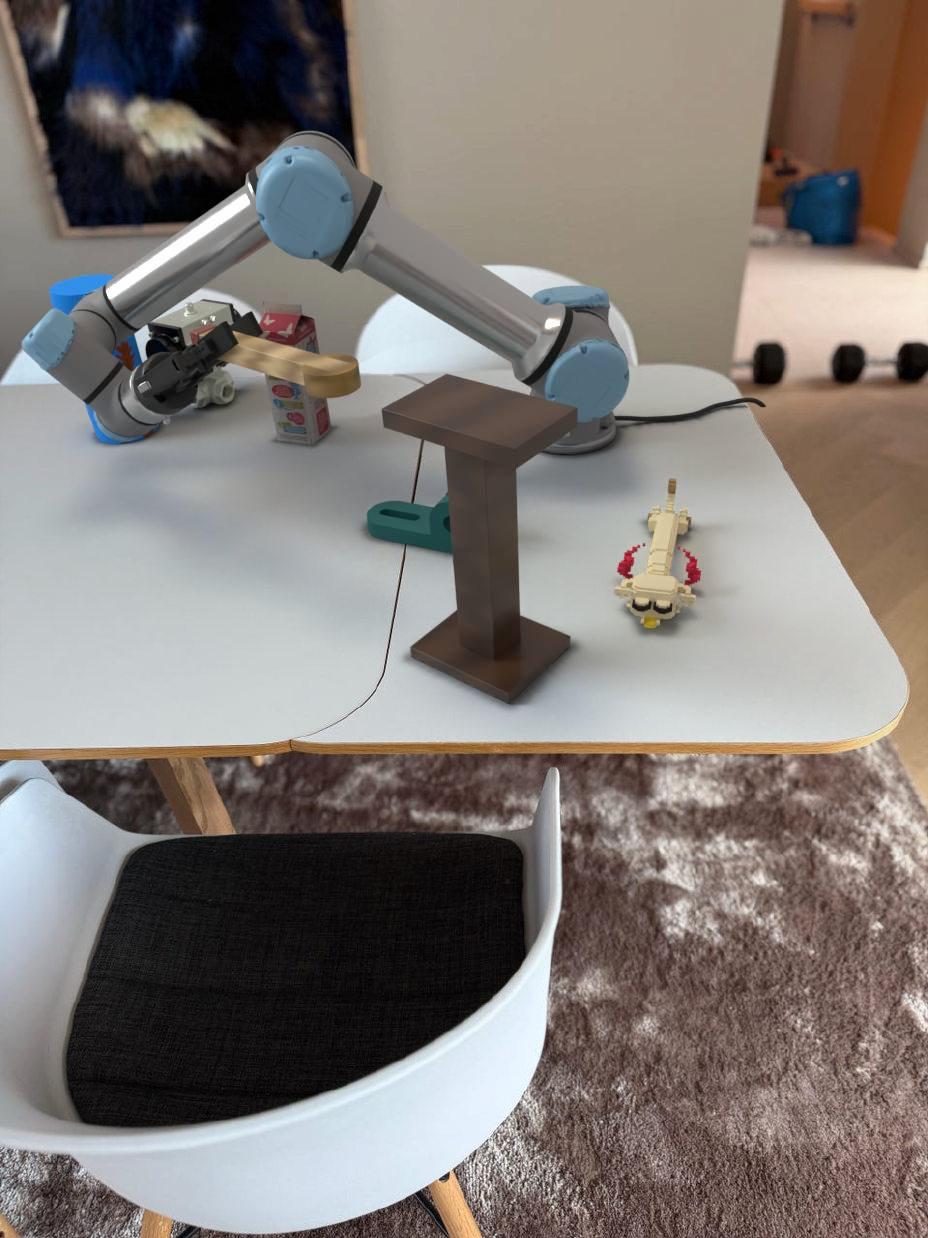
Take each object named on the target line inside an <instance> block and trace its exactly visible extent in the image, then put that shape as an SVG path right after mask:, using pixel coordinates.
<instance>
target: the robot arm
mask: <svg viewBox="0 0 928 1238" xmlns="http://www.w3.org/2000/svg"><path fill="white" fill-rule="evenodd" d="M356 167H357V166H356V164H355V161H354V160H353V157H352V155H351V153H350V152H349V151H348V150H347V148H346V147H345V146H344V145H343V144H342V143H341V142H340V141H338V139H336V138H335V137H333V136H331V135H329V134H327V133H324V132H321V131H317V130H303V131H298V132H296V133H294V134H291V135H290V136H288V137H286V138H284V140H282V142H281V143H279V144H278V146H277V147H276V148H275V150H273V152H272V153H271V154H269V156H268V157H266V158H265V159H264V160H263V161H262V162H260V163H259V164H258V165H257V166H255V167H254V168H253V169H251V170H250V171H248V172H247V173H246V175H245V183H244V185H243V186H242V187H240V188H239V189H238V190H236V191H235V192H233V193H232V194H230V195H229V196H228V197H226V198H225V199H223V200H222V201H220V202H219V203H217V204H216V205H215V206H213V207H212V208H210V209H209V210H207V211H206V212H205V213H203V214H202V215H201V216H199V217H198V218H196V219H194V220H193V221H192V222H190V223H189V224H188V225H187V226H185V227H184V228H182V229H181V230H179V231H178V232H177V233H175V234H174V235H173V236H171V237H169V238H168V239H167V240H165V241H164V242H162V243H161V244H160V245H158V246H157V247H155V248H154V249H152V250H151V251H149V252H148V253H147V254H145V255H144V256H143V257H141V258H139V259H138V260H137V261H135V262H133V264H131V265H130V266H129V267H127V268H125V269H124V270H123V271H121V272H120V273H119V274H117V275H115V276H114V278H113V279H111V280H110V281H109V282H107V284H105V285H103V286H102V287H100V288H99V289H95V290H93V291H91V292H89V293H87V294H86V295H84V296H83V297H82V298H81V299H80V300H79V301H78V302H77V304H76V306H75V307H74V308H73V310H72V311H71V312H70V313H69V314H68V315H67V314H65V313H64V312H62V311H61V310H59V309H54V308H51V309H49V310H48V311H47V312H46V314H45V315H44V316H43V317H42V318H40V320H39V321H38V322H37V323H36V324H35V325H34V327H33V328H32V329H31V330H30V331H29V332H28V333H27V335H26V336H24V338H23V339H22V341H21V348H22V351H24V353H26V355H28V356H29V358H31V360H33V361H34V362H35V363H36V364H37V365H38V366H39V368H40V369H42V370H43V371H45V372H46V373H47V374H48V375H50V376H51V377H52V378H53V379H55V381H57V382H59V383H60V384H61V385H62V386H63V387H64V388H66V389H67V390H68V391H70V392H71V393H72V394H73V395H74V396H76V397H77V398H78V399H79V400H81V401H82V402H83V403H84V404H85V403H86V404H87V406H88V407H90V408H91V409H92V410H93V411H94V419H95V421H96V424H97V425H98V427H99V429H100V430H101V431H102V432H103V433H104V434H105V435H106V436H108V437H109V438H111V439H113V440H117V441H131V440H134V439H136V438H138V437H142V436H143V435H146V434H148V433H149V432H150V431H151V430H152V429H153V428H155V427H156V426H157V425H158V426H160V424H162V423H163V424H164V425H169V424H171V417H173V416H174V415H176V414H178V413H179V412H181V411H183V410H184V409H186V408H188V407H190V406H189V405H190V404H191V403H192V402H193V401H194V399H195V397H196V395H197V392H198V384H199V383H200V382H202V381H203V379H204V377H206V376H208V375H209V374H211V373H212V372H213V371H214V370H213V367H214V366H216V367H217V368H218V367H221V368H225V367H226V366H227V365H228V362H225V361H222V360H218V359H217V358H219V357H220V356H222V355H223V354H224V353H226V352H227V351H229V350H230V349H231V348H233V347H234V346H236V345H237V344H239V343H238V341H237V339H236V337H235V335H234V333H233V332H232V331H235V332H239V333H243V334H246V335H250V336H253V337H259V336H260V335H262V334H263V331H262V329H261V327H260V325H259V323H260V322H258V319H257V318H256V316H255V314H254V312H253V311H252V310H250V311H248V312H246V313H245V314H243V315H241V316H242V317H241V318H239V319H238V320H237V321H235V322H234V323H233V324H231V325H230V324H228V322H227V321H225V322H222V323H220V324H219V325H218V326H217V327H215V328H214V329H213V330H211V331H210V332H209V333H207V334H206V335H205V336H204V337H202V338H201V339H200V340H198V341H197V344H198V346H196V344H194V345H192V344H191V345H189V346H188V347H187V348H186V349H185V350H184V351H183V352H181V351H176V352H174V354H173V353H169V352H160V353H156V354H154V355H152V356H150V357H149V358H148V359H147V358H146V359H145V360H144V361H142V364H140V365H139V366H137V367H136V368H135V369H134V370H132V371H130V370H129V369H127V368H126V367H125V366H124V365H123V364H122V363H121V362H120V361H119V360H118V359H117V358H115V357H114V356H113V355H112V353H113V352H114V350H115V349H116V348H117V346H118V345H119V344H120V343H122V342H123V341H125V340H126V339H127V338H129V337H130V336H132V335H133V334H134V335H135V334H137V333H138V332H139V331H140V330H141V329H143V328H144V327H145V326H147V324H148V323H150V322H153V321H155V320H157V319H158V318H160V316H162V315H164V314H165V313H167V312H168V311H169V310H171V309H173V308H174V307H176V306H177V305H179V304H180V303H181V302H183V301H184V300H186V299H188V298H189V297H190V296H192V295H194V294H195V293H196V292H198V291H199V290H201V289H203V288H204V287H205V286H207V285H208V284H210V283H211V282H213V281H214V280H216V279H217V278H219V277H220V276H222V275H223V274H225V273H226V272H228V271H229V270H231V269H232V268H234V267H236V266H237V265H238V264H240V263H241V262H243V261H244V260H246V259H247V258H249V257H250V256H252V255H253V254H255V253H256V252H258V251H259V250H261V249H262V248H264V247H265V246H266V245H268V244H269V243H271V242H272V243H273V244H274V245H275V246H276V247H277V248H279V249H280V250H281V251H282V252H284V253H286V254H287V255H290V256H292V257H295V258H298V259H303V260H318V261H320V262H321V263H323V264H325V265H326V266H328V267H329V268H331V269H332V270H334V271H336V272H338V273H340V274H343V273H344V274H345V273H347V272H351V271H360V272H361V273H363V274H364V275H366V276H368V277H370V278H372V279H373V280H374V281H376V282H378V283H380V284H381V285H383V286H385V287H386V288H388V289H389V290H391V291H393V292H394V293H396V294H397V295H399V296H401V297H403V298H404V299H405V300H407V301H409V302H410V303H412V304H414V305H415V306H417V307H419V308H421V309H422V310H424V311H426V312H427V313H429V314H430V315H432V316H434V317H436V318H437V319H438V320H440V321H442V322H443V323H444V324H445V323H446V324H447V325H448V326H450V327H452V328H454V329H455V330H457V331H458V332H459V333H461V334H463V335H465V336H467V337H468V338H470V339H471V340H472V341H475V342H476V343H478V344H480V345H481V346H483V347H484V348H486V349H487V350H490V351H491V352H493V353H494V354H496V355H498V356H500V358H502V359H505V360H506V361H507V362H509V363H510V364H511V366H512V371H513V375H514V378H515V379H516V380H517V381H519V382H520V383H522V384H524V385H526V386H527V387H529V388H530V393H529V395H531V396H535V397H539V398H543V399H546V400H550V401H554V402H558V403H562V404H566V405H570V406H574V407H577V408H578V418H577V427H576V428H575V429H573V430H572V431H571V432H569V433H568V434H566V435H565V436H563V437H562V438H560V439H559V440H557V441H556V442H555V443H553V444H552V445H550V446H549V447H547V448H546V449H544V450H543V451H542V452H545V453H549V454H557V455H575V454H576V455H577V454H584V453H589V452H593V451H597V450H599V449H602V448H604V447H606V446H607V445H609V444H610V443H611V442H612V441H613V440H614V439H615V437H616V433H617V432H616V430H617V421H619V422H621V421H623V422H625V421H626V422H627V421H628V422H666V421H668V422H669V421H677V420H684V419H691V418H695V417H698V416H701V415H704V414H706V413H709V412H710V411H713V410H715V409H716V410H717V409H719V408H723V407H730V406H733V405H738V404H743V403H751V404H755V405H757V406H759V408H767V405H766V404H765V403H764V402H763V401H761V400H760V399H758V398H755V397H740V398H735V399H731V400H725V401H721V402H717V403H713V404H710V405H707V406H706V407H703V408H701V409H699V410H695V411H692V412H687V413H680V414H673V415H671V414H670V415H652V416H649V415H648V416H638V415H615V414H614V410H615V409H616V408H617V407H618V406H619V405H620V403H621V402H622V401H623V400H624V398H625V395H626V394H627V391H628V388H629V384H630V367H629V361H628V358H627V356H626V353H625V351H624V350H623V348H622V347H621V345H620V344H619V342H618V340H617V338H616V336H615V334H614V332H613V330H612V329H611V327H610V322H609V317H610V314H609V313H610V309H611V304H610V295H609V292H607V290H605V289H604V288H601V287H597V286H594V285H593V286H591V285H563V286H554V287H548V288H545V289H541V290H539V291H537V292H535V293H534V294H533V295H532V296H530V295H528V294H527V293H525V292H524V291H522V290H520V289H519V288H517V287H515V286H514V285H513V284H511V283H509V282H508V281H506V279H503V278H501V277H500V276H498V275H497V274H496V273H494V272H492V271H491V270H489V269H488V268H487V267H485V266H483V265H482V264H480V263H478V262H477V261H475V260H474V259H472V258H470V257H469V256H468V255H466V254H465V253H463V252H461V250H459V249H457V248H455V247H454V246H453V245H451V244H450V243H448V242H446V241H444V240H443V239H441V237H438V236H436V235H435V234H434V233H432V232H431V231H429V230H428V229H426V228H425V227H422V225H420V224H418V223H416V222H415V221H413V220H412V219H410V218H409V217H407V216H406V215H404V214H402V213H401V212H399V211H398V210H396V209H395V208H393V207H392V206H391V204H390V202H389V198H388V194H387V191H386V188H385V187H384V186H383V185H382V184H380V183H378V182H377V181H375V180H374V179H372V178H371V177H369V176H367V175H366V174H365V173H363V172H362V171H360V170H358V169H357V168H356ZM226 364H227V365H226Z"/></svg>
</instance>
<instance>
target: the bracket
mask: <svg viewBox="0 0 928 1238" xmlns="http://www.w3.org/2000/svg"><path fill="white" fill-rule="evenodd" d="M366 521H367V529H368V532H369V534H370V536H372V537H374V538H376V539H379V540H384V541H389V542H394V543H399V544H404V545H409V546H414V547H418V548H424V549H428V550H433V551H438V552H443V553H448V554H452V555H453V552H452V539H451V526H450V514H449V501H448V491H447V492H446V493H445V495H444V496H443V497H441V498H440V500H439V501H438V502H437V503H436V504H435V505H434V506H430V505H424V504H419V503H413V502H408V501H404V500H386V501H382V502H379V503H377V504H374V505H373V506H370V508H369V509H368V510H367V512H366Z"/></svg>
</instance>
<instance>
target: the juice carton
mask: <svg viewBox="0 0 928 1238" xmlns="http://www.w3.org/2000/svg"><path fill="white" fill-rule="evenodd" d="M262 305H263V312H264V313H263V314H262V317H261V319H260V321H259V322H258V323H259V325H260V327H261V329H262V331H263V334H262V335H260V336H259V337H257V338H261V339H264V340H268V341H272V342H275V343H279V344H283V345H286V346H290V347H293V348H297V349H301V350H304V351H308V352H312V353H315V354H319V355H321V353H320V347H319V342H318V341H319V339H318V335H317V334H318V333H317V328H316V323H315V319H314V318H313V317H311V316H307V315H304V314H303V308H302V304H296V303H284V302H275V301H274V302H273V301H262ZM264 379H265V383H266V389H267V395H268V399H269V403H270V409H271V414H272V420H273V425H274V429H275V434H276V435H275V436H276V439H277V441H278V442H286V443H294V444H300V445H307V446H308V445H309V446H313V445H314V444H316V443H317V442H318V441H319V440H320V439H321V438H322V437H323V436H324V435H326V433H328V432H329V431H330V430H331V429H332V424H331V418H330V411H329V410H330V409H329V405H328V398H318V397H314V396H311V395H309V394H308V393H307V392H306V389H305V386H304V385H301V384H297V383H294V382H291V381H287V380H284V379H281V378H278V377H274V376H271V375H268V374H264Z"/></svg>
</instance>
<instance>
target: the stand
mask: <svg viewBox="0 0 928 1238" xmlns="http://www.w3.org/2000/svg"><path fill="white" fill-rule="evenodd" d="M380 410H381V417H382V426H383V429H387V430H389V431H394V432H396V433H400V434H403V435H406V436H409V437H412V438H416V439H419V440H422V441H425V442H428V443H431V444H435V445H438V446H441V447H444V450H443V451H444V461H445V462H444V463H445V474H446V483H447V484H446V487H447V492H448V501H449V514H450V526H451V539H452V552H453V554H452V563H453V575H454V589H455V603H456V610H455V611H454V612H452V613H451V614H450V615H448V616H447V617H446V618H445V619H444V620H442V621H440V623H439V624H437V625H436V626H435V627H434V628H432V629H431V630H430V631H429V632H427V633H426V634H425V635H423V637H421V638H419V640H417V641H416V642H415V643H413V644H412V645H410V647H409V649H410V657H411V658H413V659H415V660H417V661H419V662H421V663H423V664H425V665H427V666H430V667H431V668H432V669H433V668H434V669H436V670H438V671H440V672H442V673H443V674H446V675H448V676H450V677H452V678H454V679H456V680H458V681H461V682H463V683H464V684H467V685H469V686H471V687H473V688H475V689H476V690H480V691H481V692H483V693H485V694H487V695H488V696H489V695H490V696H492V697H494V698H496V699H498V700H500V701H502V702H504V703H507V704H508V705H509V704H511V703H512V702H513V701H514V700H515V699H516V698H517V697H518V696H520V694H521V693H522V692H524V691H525V690H526V689H527V688H528V687H529V686H530V685H531V684H532V683H533V682H534V681H535V680H536V679H538V677H539V676H540V675H541V674H542V673H544V671H546V670H547V669H548V668H549V667H550V666H551V665H552V664H554V662H555V661H556V660H557V659H559V657H560V656H561V655H563V654H564V653H565V652H566V651H567V650H568V649H569V648H570V647H571V635H569V634H567V633H565V632H562V631H559V630H557V629H555V628H552V627H550V626H547V625H545V624H542V623H541V622H538V621H535V620H533V619H530V618H528V617H526V616H523V615H521V600H520V599H521V597H520V595H521V593H520V560H519V559H520V558H519V555H520V554H519V520H518V517H519V515H518V482H517V481H518V480H517V479H518V478H517V469H518V468H520V467H521V466H523V465H524V464H526V463H527V462H529V461H530V460H531V459H533V458H534V457H536V456H537V455H539V454H540V453H542V452H544V451H543V450H544V449H546V448H547V447H549V446H550V445H552V444H553V443H555V442H556V441H557V440H559V439H560V438H562V437H563V436H565V435H566V434H568V433H569V432H571V431H572V430H573V429H575V428H576V427H577V418H578V408H577V407H574V406H570V405H566V404H562V403H558V402H554V401H550V400H546V399H543V398H539V397H535V396H531V395H530V394H527V393H524V392H519V391H515V390H511V389H508V388H503V387H499V386H496V385H492V384H488V383H484V382H480V381H477V380H473V379H469V378H465V377H461V376H458V375H454V374H449V373H445V374H442V375H441V376H440V377H437V378H435V379H433V380H432V381H430V382H429V383H427V384H425V385H423V386H421V387H419V388H417V389H415V390H413V391H412V392H410V393H408V394H406V395H404V396H402V397H401V398H398V399H397V400H395V401H392V403H389V404H387V405H385V406H383V407H382V408H381V409H380Z"/></svg>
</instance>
